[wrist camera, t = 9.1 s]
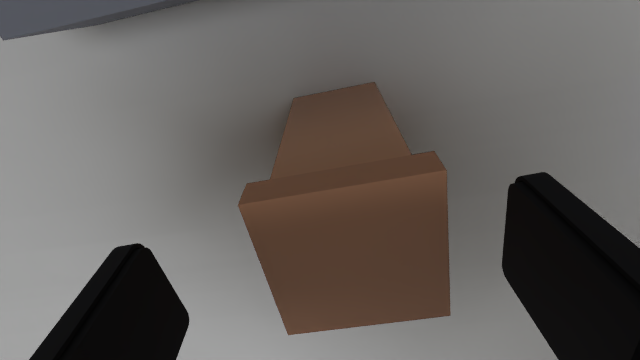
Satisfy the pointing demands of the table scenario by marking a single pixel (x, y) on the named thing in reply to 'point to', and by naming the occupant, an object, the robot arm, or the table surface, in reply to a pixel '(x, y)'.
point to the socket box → (69, 14)
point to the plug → (350, 218)
